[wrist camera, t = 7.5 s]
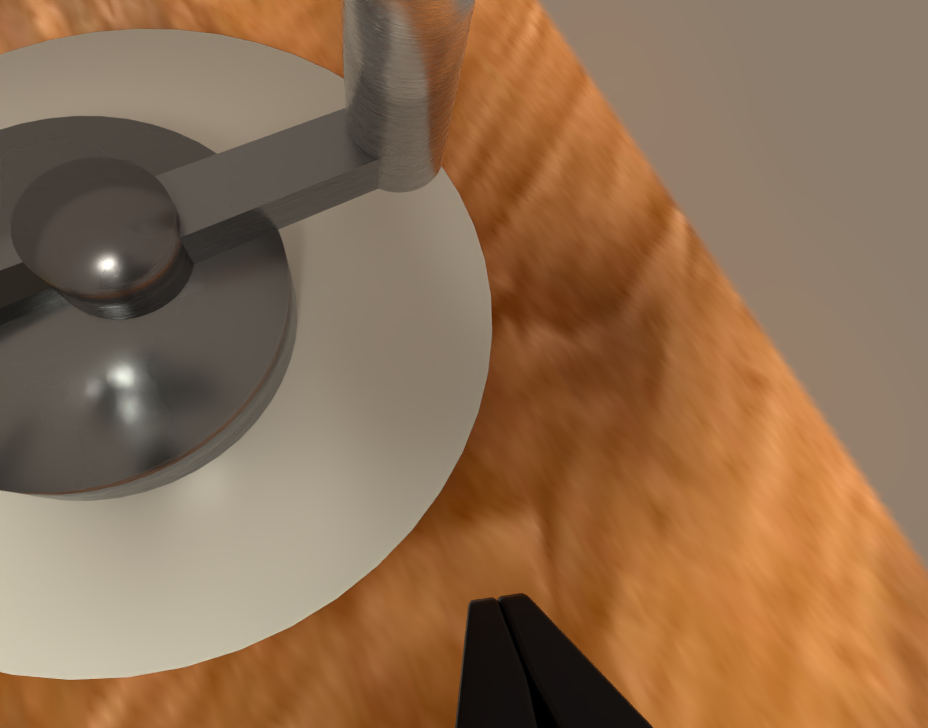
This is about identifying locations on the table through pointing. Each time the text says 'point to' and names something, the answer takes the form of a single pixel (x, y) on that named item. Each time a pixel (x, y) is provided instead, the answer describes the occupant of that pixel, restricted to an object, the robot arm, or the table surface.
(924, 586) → the table surface
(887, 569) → the table surface
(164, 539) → the stand
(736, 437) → the table surface
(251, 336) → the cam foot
